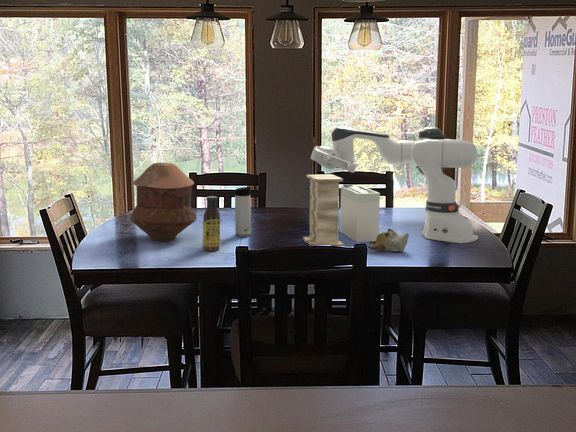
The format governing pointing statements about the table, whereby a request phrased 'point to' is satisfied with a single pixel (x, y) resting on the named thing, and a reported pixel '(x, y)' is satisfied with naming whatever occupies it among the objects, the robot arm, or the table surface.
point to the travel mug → (243, 212)
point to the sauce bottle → (211, 225)
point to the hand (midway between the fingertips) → (338, 163)
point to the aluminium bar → (354, 188)
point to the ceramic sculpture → (389, 241)
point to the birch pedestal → (324, 210)
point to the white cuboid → (360, 214)
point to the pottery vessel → (163, 202)
